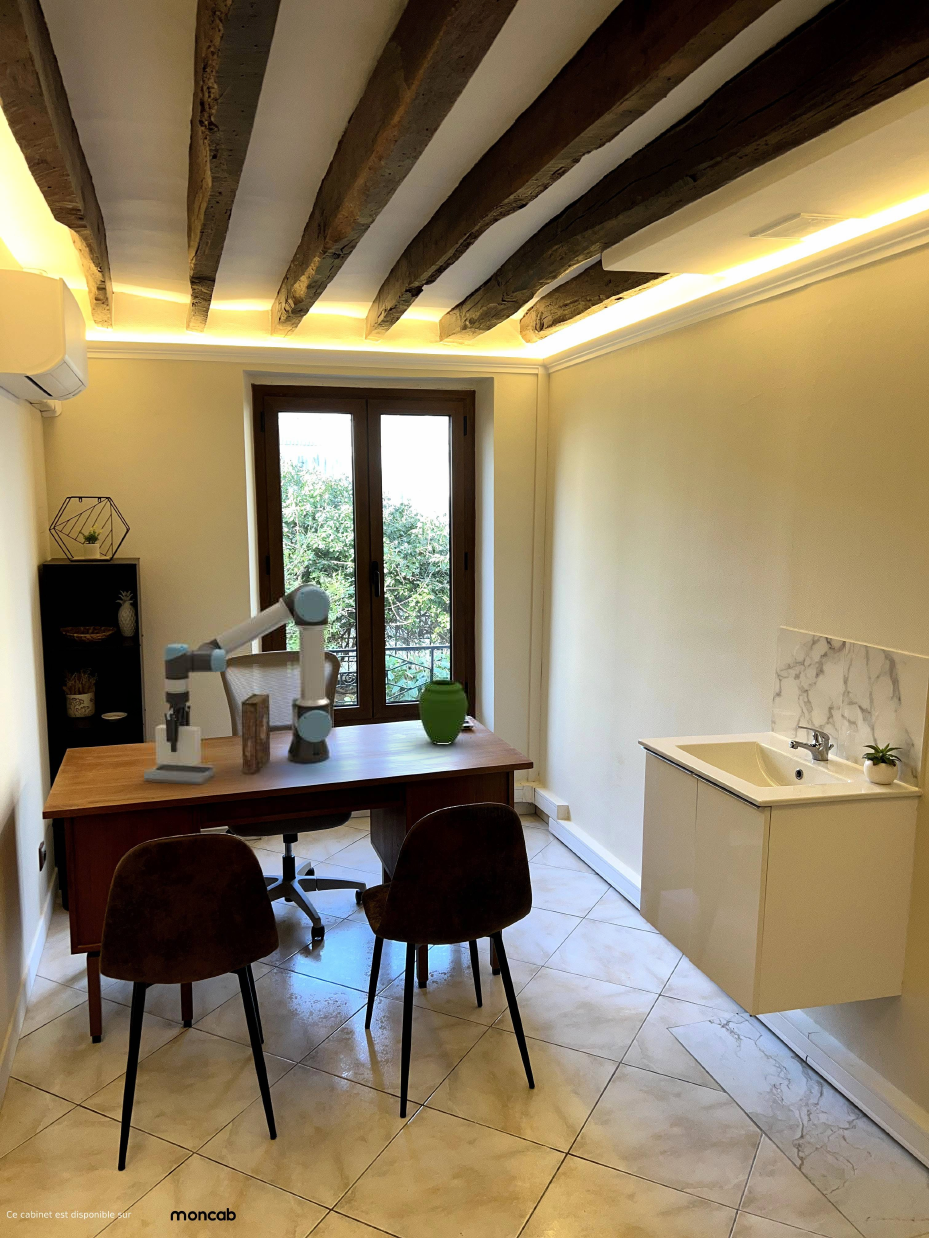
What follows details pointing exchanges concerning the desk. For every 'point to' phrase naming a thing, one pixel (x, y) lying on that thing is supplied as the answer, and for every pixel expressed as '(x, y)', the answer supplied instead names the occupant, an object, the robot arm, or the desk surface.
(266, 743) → the book
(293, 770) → the desk surface
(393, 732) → the desk surface
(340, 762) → the desk surface
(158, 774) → the track
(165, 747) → the door
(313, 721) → the robot arm
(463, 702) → the vase
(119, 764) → the desk surface
